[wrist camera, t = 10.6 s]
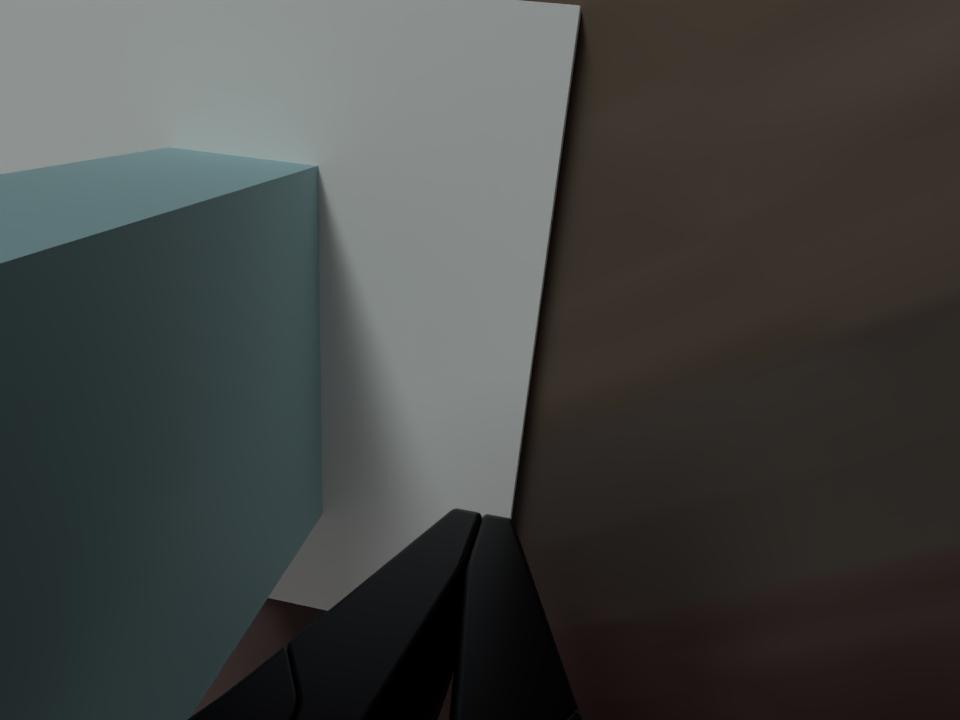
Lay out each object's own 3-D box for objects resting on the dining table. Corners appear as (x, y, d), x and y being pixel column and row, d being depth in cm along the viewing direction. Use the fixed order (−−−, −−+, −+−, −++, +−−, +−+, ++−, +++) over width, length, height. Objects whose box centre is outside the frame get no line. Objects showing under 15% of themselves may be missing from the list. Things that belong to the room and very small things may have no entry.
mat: (581, 9, 11) (580, 5, 10) (496, 627, 16) (492, 646, 16) (-273, -66, 13) (-312, -72, 12) (-81, 505, 19) (-102, 518, 18)
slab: (317, 166, 12) (-298, 354, 4) (322, 513, 15) (-1, 1010, 7) (168, 147, 12) (-680, 283, 4) (205, 491, 16) (-229, 937, 8)
